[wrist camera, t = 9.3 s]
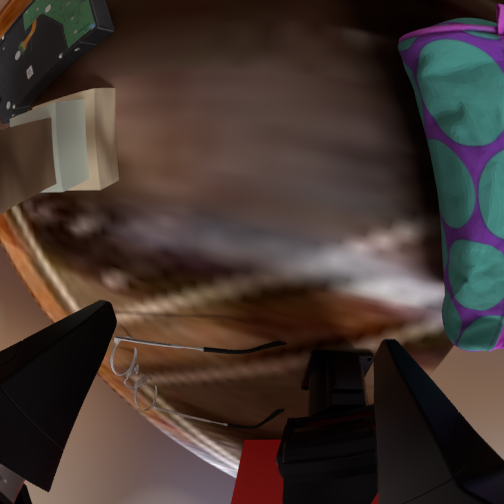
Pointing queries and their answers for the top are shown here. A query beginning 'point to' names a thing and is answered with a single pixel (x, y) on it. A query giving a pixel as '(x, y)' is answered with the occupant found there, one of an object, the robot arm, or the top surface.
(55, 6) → the disk drive
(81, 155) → the tower top
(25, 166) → the walnut block
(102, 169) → the tower base
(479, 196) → the pencil case
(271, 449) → the book
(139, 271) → the top surface
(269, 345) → the eyeglasses
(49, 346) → the robot arm
